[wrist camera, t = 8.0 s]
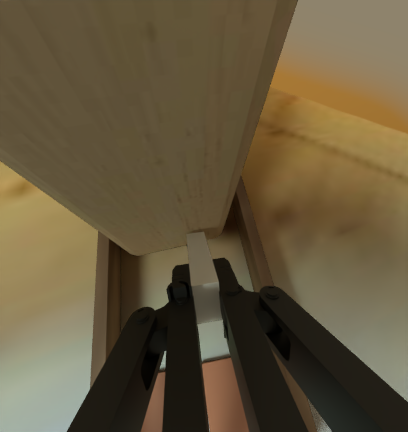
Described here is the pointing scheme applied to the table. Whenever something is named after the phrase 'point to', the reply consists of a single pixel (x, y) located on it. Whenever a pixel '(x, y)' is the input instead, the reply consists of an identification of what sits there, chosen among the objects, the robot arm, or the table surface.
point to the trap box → (212, 371)
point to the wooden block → (137, 107)
